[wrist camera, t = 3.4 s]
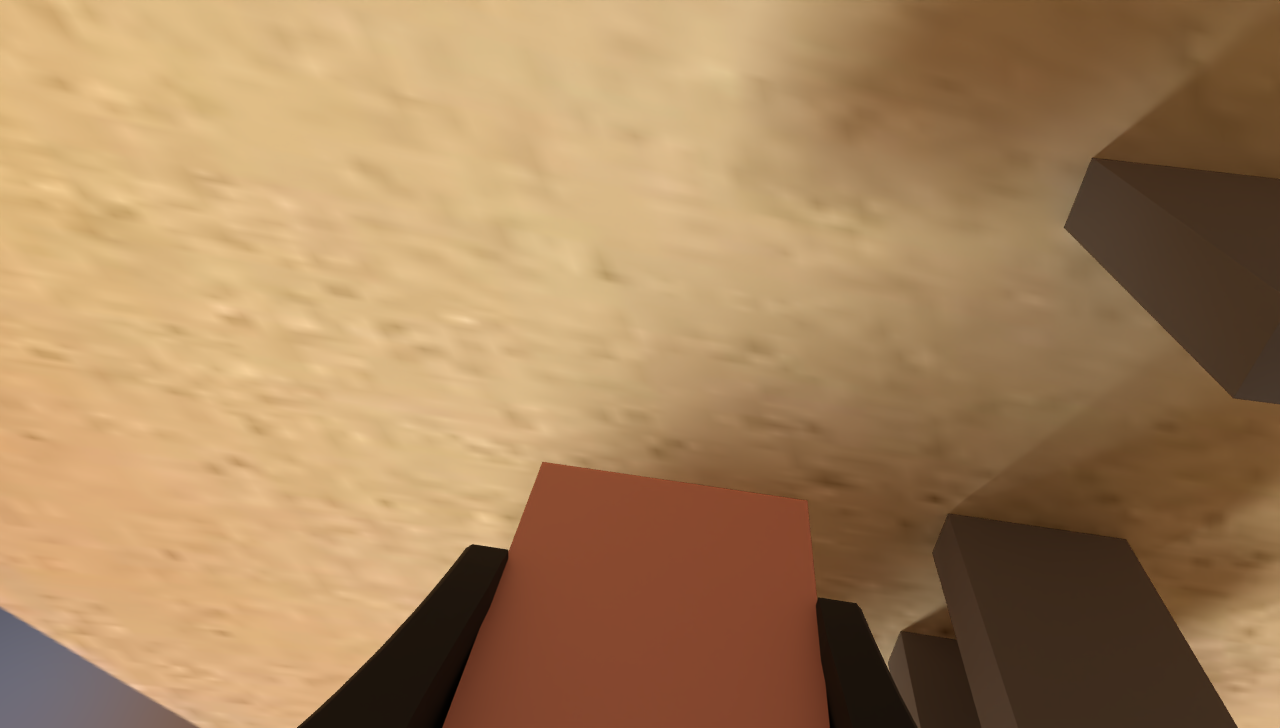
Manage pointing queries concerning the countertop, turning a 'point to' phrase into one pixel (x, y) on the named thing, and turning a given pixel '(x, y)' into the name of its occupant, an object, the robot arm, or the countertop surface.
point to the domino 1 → (649, 611)
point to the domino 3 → (1194, 261)
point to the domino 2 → (933, 681)
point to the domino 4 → (1066, 632)
